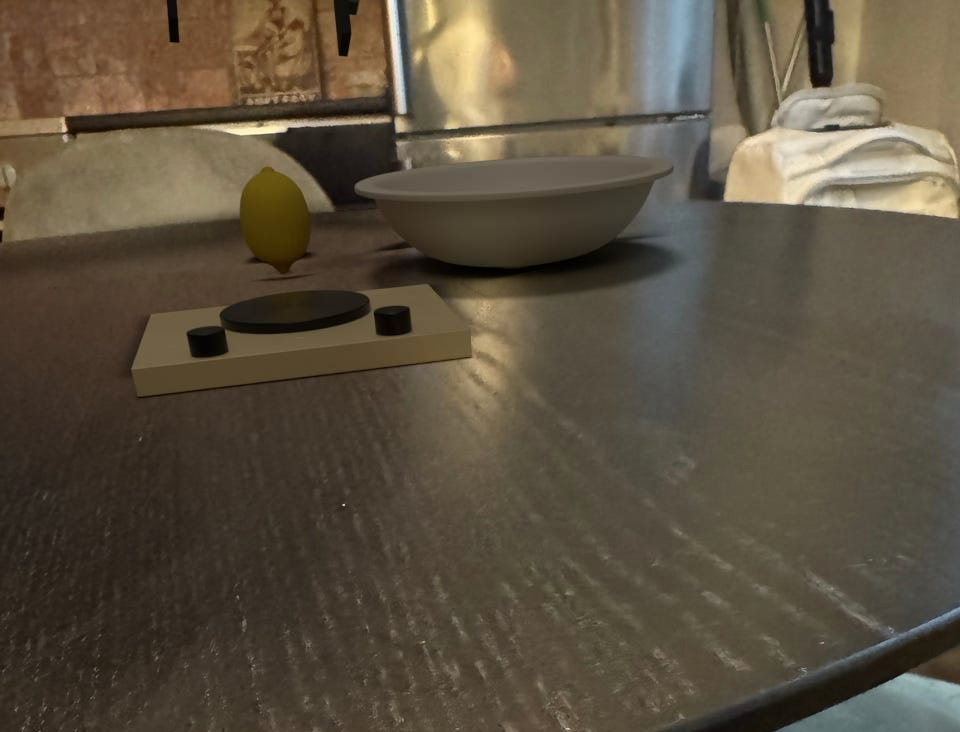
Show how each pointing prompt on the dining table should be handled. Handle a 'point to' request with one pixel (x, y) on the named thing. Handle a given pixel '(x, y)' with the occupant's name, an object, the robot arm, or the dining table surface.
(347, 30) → the robot arm
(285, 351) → the cooktop
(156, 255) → the dining table surface
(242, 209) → the lemon
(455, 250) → the soup bowl
